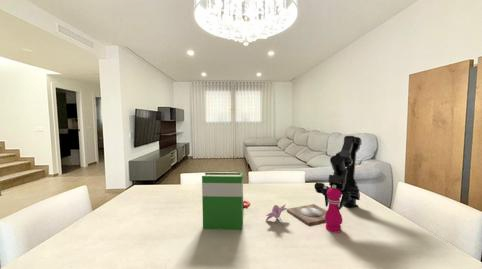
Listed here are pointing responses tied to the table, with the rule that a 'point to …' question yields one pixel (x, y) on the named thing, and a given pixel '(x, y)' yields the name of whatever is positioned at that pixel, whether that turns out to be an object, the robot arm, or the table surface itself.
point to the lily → (276, 212)
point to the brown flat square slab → (309, 214)
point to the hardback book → (222, 201)
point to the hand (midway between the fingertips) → (332, 207)
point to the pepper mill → (333, 210)
